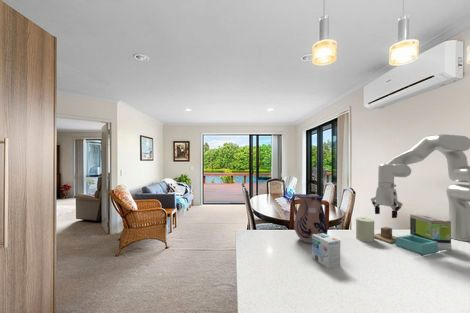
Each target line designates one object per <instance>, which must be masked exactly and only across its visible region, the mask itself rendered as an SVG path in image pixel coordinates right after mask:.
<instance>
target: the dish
mask: <svg viewBox="0 0 470 313" xmlns="http://www.w3.org/2000/svg"><path fill="white" fill-rule="evenodd" d="M395 237H396V242H395V247H399V248H402V249H404V250H407V251H410V252H413V253H416V254H418V255H419V254H420V256H422V257H425V256H429V255H432V254H436V253H438V252H439V249H438V242H435V241H432V240H428V239H424V238H421V237H417V236H414V235H410V234H406V235H400V236H395Z"/></svg>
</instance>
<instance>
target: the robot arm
mask: <svg viewBox="0 0 470 313" xmlns="http://www.w3.org/2000/svg"><path fill="white" fill-rule="evenodd" d="M469 150H470V137H467V136H465V135H458V134H457V135H455V134H443V133H442V134H434V135H427V136H425V137H423V138H421V140H420V141H418V143H416V144H415V145H414V146H413V147H411V148H410V149H409V150H407V151H405V152H403V153H401V154H399V155H397V156H395V157H393V158H391V160H389V161H388V162H387V163H381V164H379V165H378V170H377V171H378V177H377V178H378V180H377V182H378V183H377V187H376V191H375V197H372V198H371V199H370V201H371V202H372V203H371V204H372V205H373V207H374V213H375V215H380V213H381V212H380V209H381V207H380V206H384V207H390V208H391V209H392V210H391V218H392V219H397V218H398V211H399V210H400V209H401V208H402V207H403V205H404V204H403V203H402V202H401V201H399V200H398V193H397V189H396V187H397V184H395V178H407V177H409V176H410V175H411V173H412V168H411V167H410V166H409V165H411V164H412V165H413V164H418V163H420V162H423V161H424V160H425V159H426V158H427V157H429V156H430V155H431V154H432V153H433V152H435V151H438V152H440V153H442V155H444V157H445V158H446V162H447V173H448V177H449V180H451V181H452V182H457V183H454V184H450V185H448V186H447V187H446V191H445V192H446V196H447V200H448V220H449V221H451V240H452V239H453V240H458V241H461V242H470V165H469V163H468V157H467V155H466V154H465V151H469ZM462 183H467V184H462Z"/></svg>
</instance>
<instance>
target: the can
mask: <svg viewBox="0 0 470 313" xmlns="http://www.w3.org/2000/svg"><path fill="white" fill-rule="evenodd" d="M374 234H375V220H374V219H372V218H368V217H356V218H355V239H356V240H358V241H360V242H367V243H372V242H375V238H374Z"/></svg>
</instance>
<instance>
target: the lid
mask: <svg viewBox="0 0 470 313" xmlns="http://www.w3.org/2000/svg"><path fill="white" fill-rule="evenodd" d="M396 237H397V236H395V235H393V228H392V227H387V226H384V227H383V226H382V227H381V228H380V232H379V233H374V240H375V239H376V240H379V241H382V242H384V243H388V244H394V243H395V244H396Z"/></svg>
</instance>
